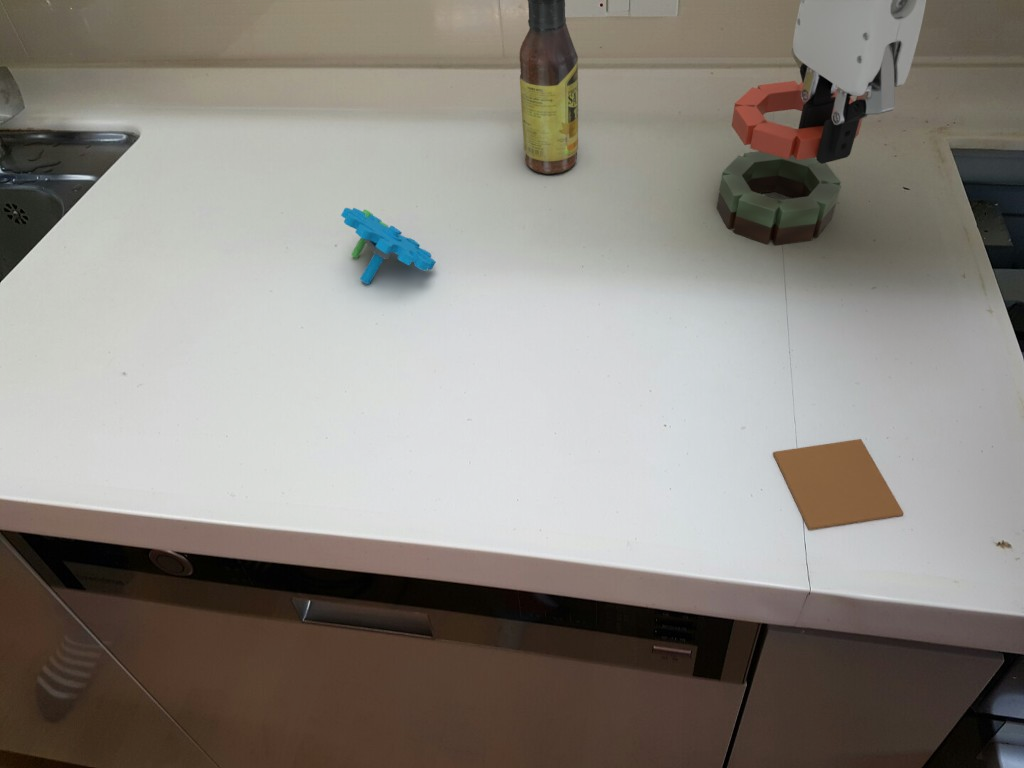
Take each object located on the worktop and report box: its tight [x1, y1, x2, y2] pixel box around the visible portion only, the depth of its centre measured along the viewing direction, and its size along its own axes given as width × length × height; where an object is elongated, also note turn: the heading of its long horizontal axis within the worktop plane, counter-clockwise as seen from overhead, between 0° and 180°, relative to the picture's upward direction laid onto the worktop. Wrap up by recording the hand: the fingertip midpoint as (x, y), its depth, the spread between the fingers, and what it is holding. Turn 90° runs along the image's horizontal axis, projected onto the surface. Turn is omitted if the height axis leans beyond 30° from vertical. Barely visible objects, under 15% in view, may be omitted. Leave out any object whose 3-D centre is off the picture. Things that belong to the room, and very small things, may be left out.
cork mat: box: [772, 438, 905, 531], centre depth 58 cm, size 7×7×1 cm
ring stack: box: [716, 150, 842, 246], centre depth 81 cm, size 11×11×4 cm
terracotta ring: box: [731, 80, 863, 160], centre depth 74 cm, size 11×11×2 cm
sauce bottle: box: [519, 0, 579, 175], centre depth 84 cm, size 7×6×20 cm
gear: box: [340, 207, 437, 285], centre depth 77 cm, size 11×6×10 cm
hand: (822, 149), depth 72 cm, fingers closed on terracotta ring, 2 cm apart
